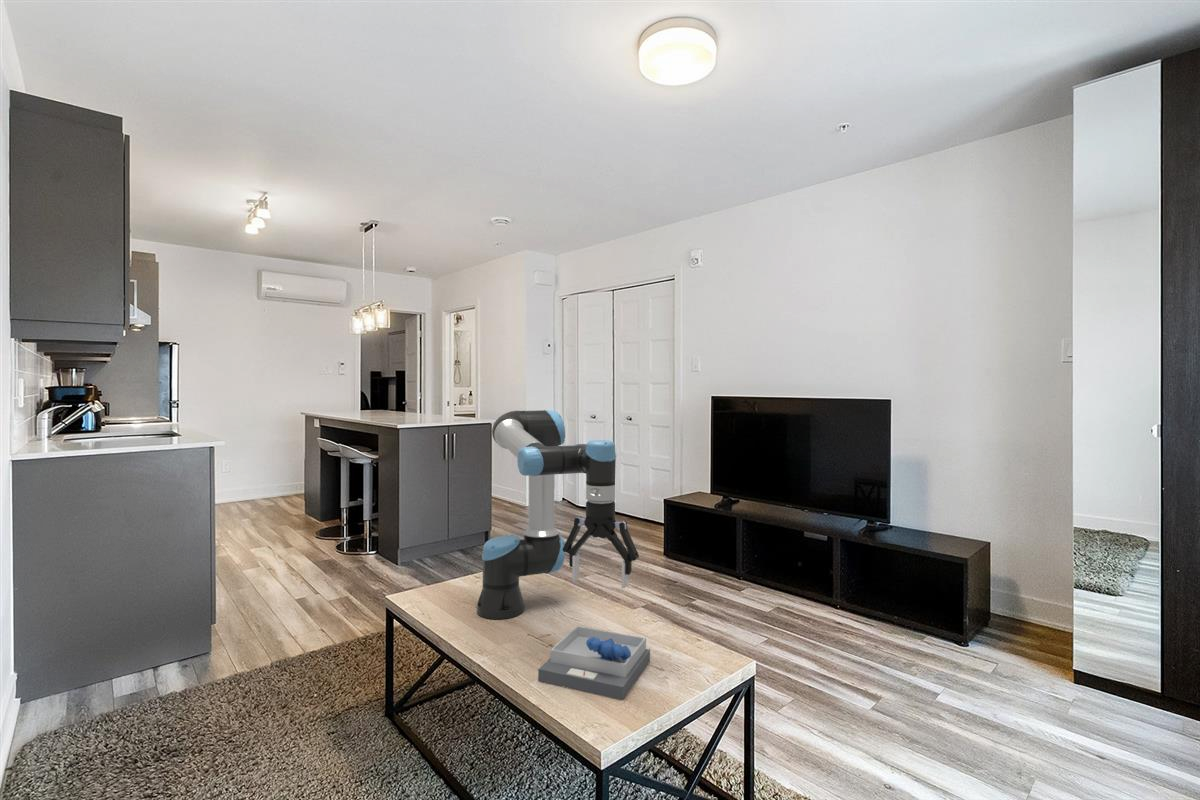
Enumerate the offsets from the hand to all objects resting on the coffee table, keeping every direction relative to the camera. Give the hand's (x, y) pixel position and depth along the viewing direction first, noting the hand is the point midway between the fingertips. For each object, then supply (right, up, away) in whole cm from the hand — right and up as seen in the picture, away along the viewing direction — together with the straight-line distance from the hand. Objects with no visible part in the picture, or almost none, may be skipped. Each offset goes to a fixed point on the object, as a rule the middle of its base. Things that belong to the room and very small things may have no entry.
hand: (599, 583), depth 148 cm
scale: (-1, -22, -2) cm, 22 cm away
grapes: (+1, -17, 0) cm, 17 cm away
